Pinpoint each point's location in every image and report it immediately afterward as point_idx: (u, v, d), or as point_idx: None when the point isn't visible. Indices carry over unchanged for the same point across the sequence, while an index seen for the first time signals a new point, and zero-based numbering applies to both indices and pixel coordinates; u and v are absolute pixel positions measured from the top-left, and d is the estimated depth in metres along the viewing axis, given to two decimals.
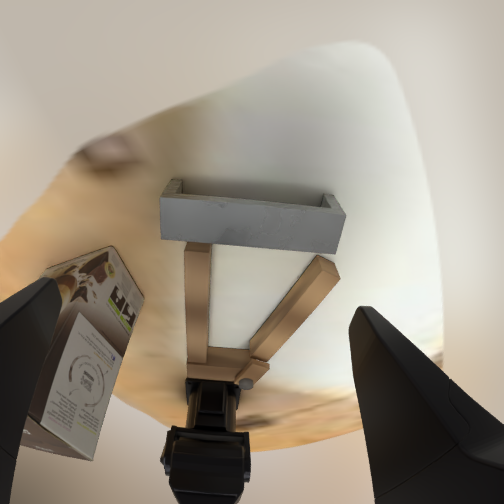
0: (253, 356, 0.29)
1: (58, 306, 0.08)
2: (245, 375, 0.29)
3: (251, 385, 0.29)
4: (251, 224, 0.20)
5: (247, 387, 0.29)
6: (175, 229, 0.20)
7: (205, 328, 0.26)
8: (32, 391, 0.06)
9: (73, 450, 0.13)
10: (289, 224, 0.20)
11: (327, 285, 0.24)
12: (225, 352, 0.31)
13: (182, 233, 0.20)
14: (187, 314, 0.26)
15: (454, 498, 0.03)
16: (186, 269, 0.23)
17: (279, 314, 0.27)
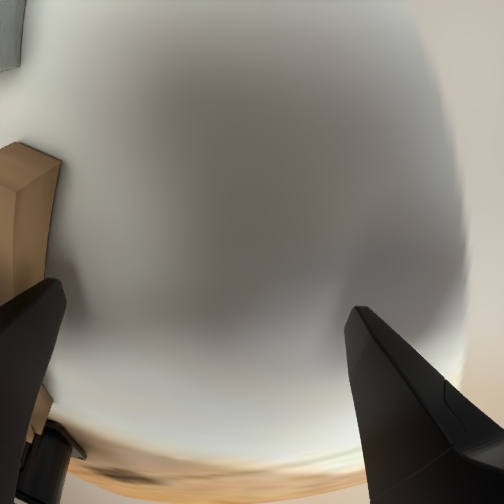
0: None
1: (62, 307, 0.08)
2: None
3: None
4: None
5: None
6: None
7: None
8: (36, 393, 0.06)
9: None
10: None
11: None
12: None
13: None
14: None
15: (448, 500, 0.03)
16: None
17: None
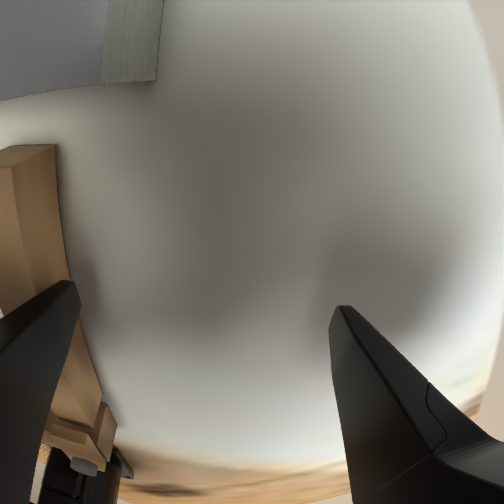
0: (60, 418, 0.11)
1: (77, 309, 0.08)
2: (68, 452, 0.11)
3: (88, 470, 0.11)
4: None
5: (87, 472, 0.11)
6: None
7: None
8: (51, 397, 0.07)
9: None
10: None
11: (2, 208, 0.06)
12: None
13: None
14: None
15: None
16: None
17: None
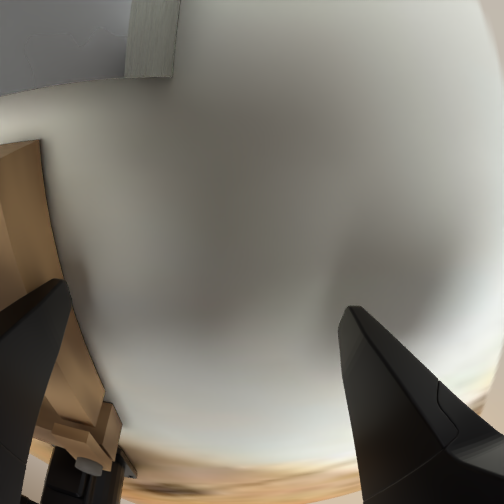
0: (63, 417, 0.11)
1: (68, 308, 0.08)
2: (72, 452, 0.11)
3: (93, 470, 0.11)
4: None
5: (92, 472, 0.11)
6: None
7: None
8: (42, 395, 0.07)
9: None
10: None
11: None
12: None
13: None
14: None
15: (440, 503, 0.03)
16: None
17: None
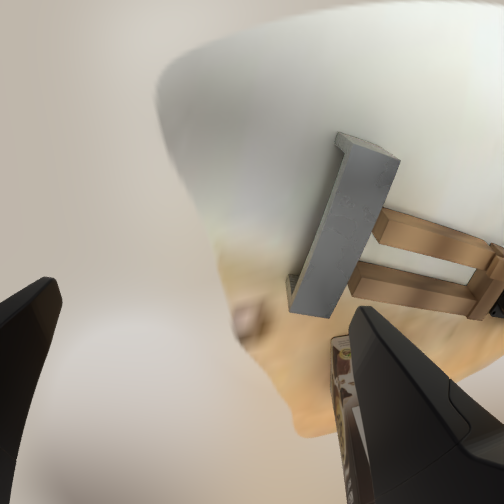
0: (485, 268, 0.21)
1: (58, 306, 0.08)
2: (503, 278, 0.20)
3: None
4: (339, 244, 0.18)
5: None
6: (323, 306, 0.21)
7: (440, 294, 0.22)
8: (33, 391, 0.06)
9: None
10: (349, 208, 0.17)
11: (399, 229, 0.19)
12: (478, 274, 0.23)
13: (329, 302, 0.21)
14: (417, 306, 0.23)
15: (454, 498, 0.03)
16: (371, 298, 0.22)
17: None
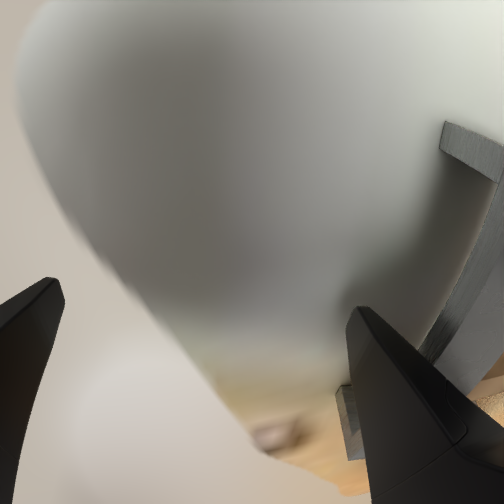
0: None
1: (61, 307, 0.08)
2: None
3: None
4: (456, 375, 0.07)
5: None
6: None
7: None
8: (35, 392, 0.06)
9: None
10: (494, 314, 0.06)
11: None
12: None
13: None
14: None
15: (450, 500, 0.03)
16: None
17: None
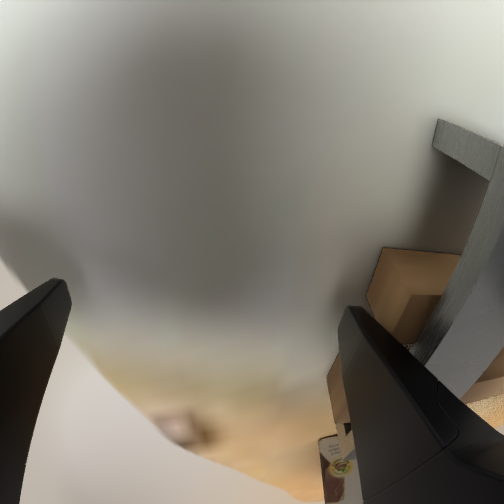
0: None
1: (67, 308, 0.08)
2: None
3: None
4: (450, 375, 0.07)
5: None
6: None
7: (497, 379, 0.10)
8: (42, 394, 0.07)
9: None
10: (487, 314, 0.06)
11: None
12: None
13: None
14: None
15: (440, 503, 0.03)
16: None
17: None
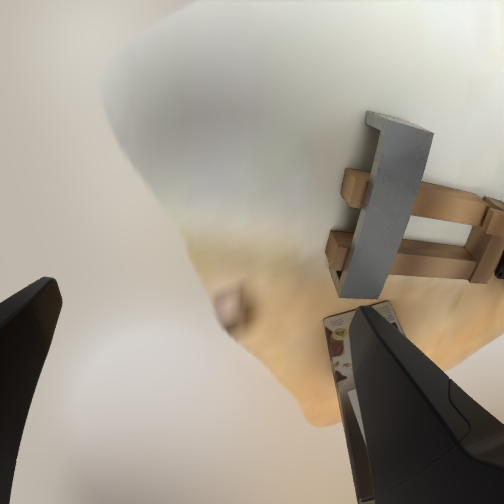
0: (480, 224, 0.19)
1: (58, 306, 0.08)
2: (502, 232, 0.18)
3: None
4: (384, 222, 0.17)
5: None
6: (372, 287, 0.20)
7: (432, 258, 0.20)
8: (32, 391, 0.06)
9: None
10: (391, 185, 0.16)
11: None
12: (475, 232, 0.21)
13: (377, 282, 0.20)
14: (409, 274, 0.21)
15: (454, 498, 0.03)
16: None
17: None
